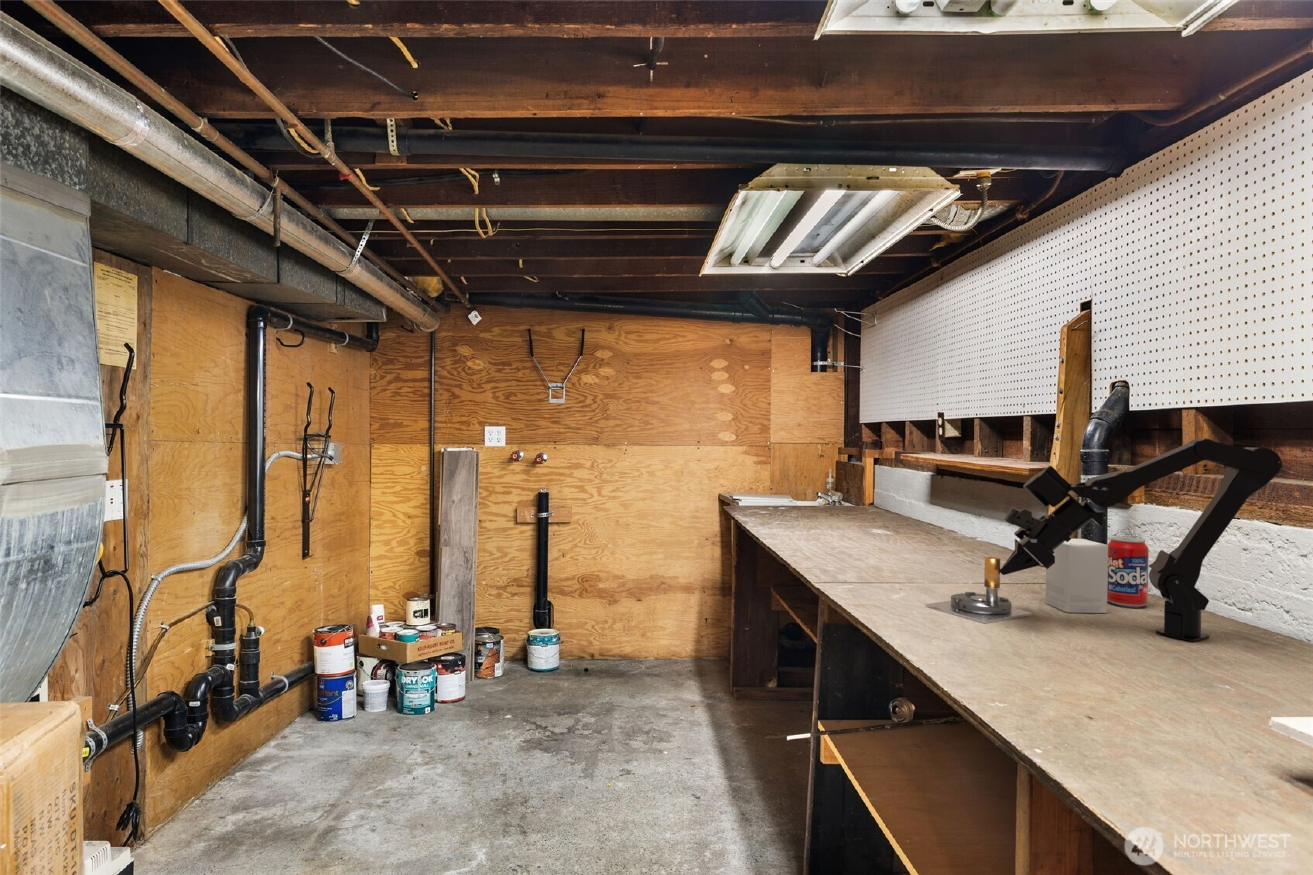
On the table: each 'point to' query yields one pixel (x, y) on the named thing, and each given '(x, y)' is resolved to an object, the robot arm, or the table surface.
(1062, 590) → the supplement box
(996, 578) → the metal joystick
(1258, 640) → the table surface
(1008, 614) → the flange plate
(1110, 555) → the soda can
